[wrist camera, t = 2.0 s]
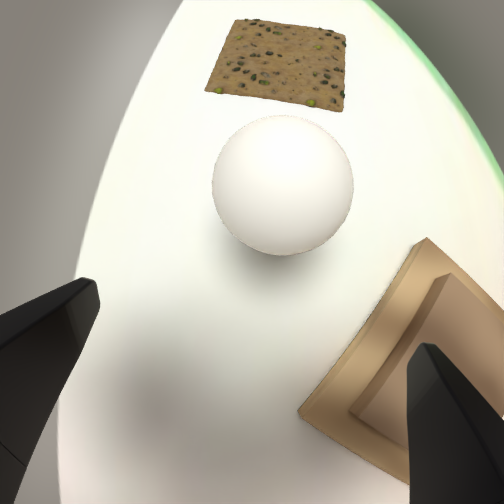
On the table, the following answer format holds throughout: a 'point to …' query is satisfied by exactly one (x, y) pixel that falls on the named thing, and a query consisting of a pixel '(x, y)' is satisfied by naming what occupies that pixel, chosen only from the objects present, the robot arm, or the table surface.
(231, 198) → the lightbulb
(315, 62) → the cookie
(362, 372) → the plinth
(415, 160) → the table surface
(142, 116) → the table surface
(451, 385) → the robot arm
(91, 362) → the table surface
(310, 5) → the table surface
